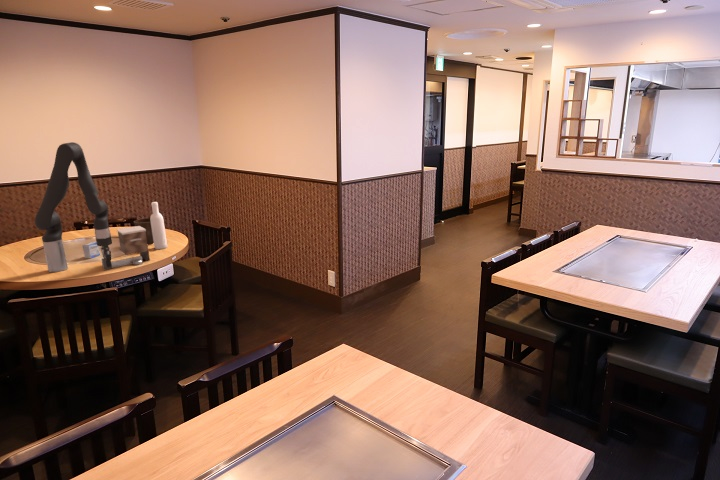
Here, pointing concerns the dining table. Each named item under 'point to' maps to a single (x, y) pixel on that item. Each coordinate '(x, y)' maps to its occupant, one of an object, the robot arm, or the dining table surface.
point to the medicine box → (91, 250)
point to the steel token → (137, 262)
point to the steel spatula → (120, 262)
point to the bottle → (158, 228)
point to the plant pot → (146, 225)
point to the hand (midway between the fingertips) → (108, 266)
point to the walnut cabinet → (134, 241)
